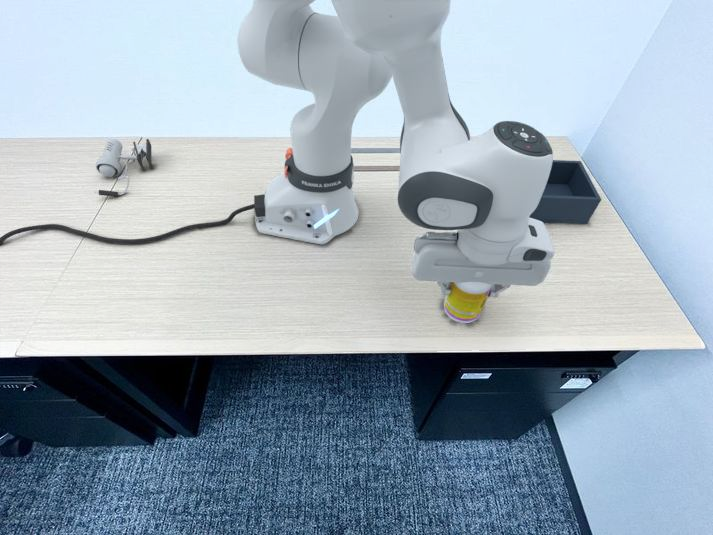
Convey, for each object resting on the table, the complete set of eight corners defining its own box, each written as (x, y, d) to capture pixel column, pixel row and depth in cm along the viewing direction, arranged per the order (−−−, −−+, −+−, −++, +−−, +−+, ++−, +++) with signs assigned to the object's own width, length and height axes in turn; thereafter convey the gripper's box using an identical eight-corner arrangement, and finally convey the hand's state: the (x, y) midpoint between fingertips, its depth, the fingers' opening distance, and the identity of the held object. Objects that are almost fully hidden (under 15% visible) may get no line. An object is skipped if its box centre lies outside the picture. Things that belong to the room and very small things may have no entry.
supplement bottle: (479, 328, 69) (499, 281, 59) (441, 320, 70) (454, 273, 60) (481, 298, 73) (500, 250, 63) (445, 291, 74) (458, 242, 65)
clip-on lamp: (146, 205, 94) (157, 149, 103) (137, 188, 89) (149, 130, 97) (92, 205, 93) (108, 148, 101) (79, 187, 87) (97, 128, 95)
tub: (523, 221, 87) (534, 197, 82) (511, 183, 96) (520, 158, 90) (586, 224, 86) (601, 199, 81) (568, 185, 95) (580, 160, 90)
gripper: (417, 247, 55) (407, 305, 66) (566, 254, 54) (533, 311, 65) (415, 217, 59) (406, 276, 70) (554, 222, 59) (524, 281, 69)
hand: (468, 293), depth 67 cm, fingers closed on supplement bottle, 6 cm apart
